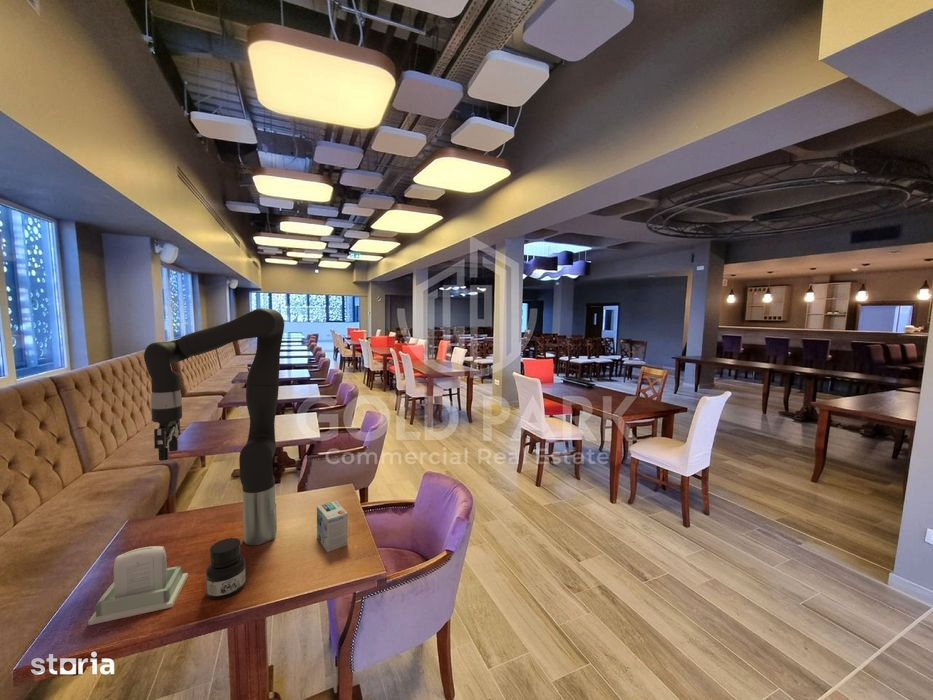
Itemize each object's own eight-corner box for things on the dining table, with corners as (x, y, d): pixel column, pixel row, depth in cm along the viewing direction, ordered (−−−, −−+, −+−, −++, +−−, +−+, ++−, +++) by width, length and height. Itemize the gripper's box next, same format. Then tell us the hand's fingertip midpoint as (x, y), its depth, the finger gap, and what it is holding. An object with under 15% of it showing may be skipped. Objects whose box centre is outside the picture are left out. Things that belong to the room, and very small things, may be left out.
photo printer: (169, 583, 99) (167, 539, 98) (165, 594, 95) (163, 548, 94) (118, 596, 94) (115, 550, 93) (112, 608, 90) (109, 560, 89)
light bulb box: (316, 537, 123) (315, 505, 123) (336, 530, 128) (336, 500, 127) (327, 553, 115) (327, 519, 114) (348, 545, 119) (348, 512, 119)
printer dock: (187, 576, 104) (187, 562, 103) (172, 607, 92) (171, 591, 92) (114, 590, 98) (113, 576, 97) (88, 625, 86) (87, 609, 86)
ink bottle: (204, 606, 93) (203, 560, 92) (204, 585, 100) (202, 543, 99) (249, 590, 99) (248, 547, 98) (245, 572, 106) (244, 531, 105)
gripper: (173, 409, 112) (175, 461, 113) (188, 399, 125) (190, 446, 126) (142, 411, 109) (144, 465, 110) (160, 401, 122) (162, 449, 123)
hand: (168, 455), depth 118 cm, fingers open, 8 cm apart
